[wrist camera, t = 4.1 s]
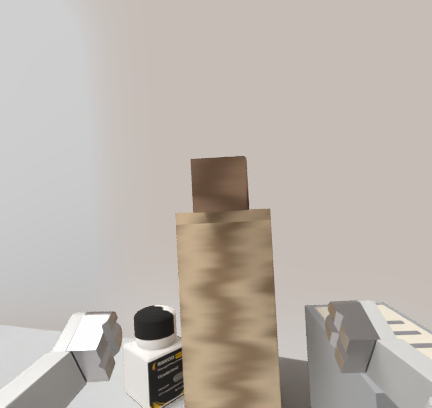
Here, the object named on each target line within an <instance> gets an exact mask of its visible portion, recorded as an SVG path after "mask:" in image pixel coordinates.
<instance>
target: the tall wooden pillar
mask: <svg viewBox="0 0 432 408" xmlns="http://www.w3.org/2000/svg"><path fill="white" fill-rule="evenodd" d="M176 234H177V255H178V275H179V296H180V318H181V338H182V359H183V380H184V401H185V408H281V394H280V376H279V358H278V342H277V323H276V305H275V287H274V271H273V251H272V233H271V217H270V209H252V210H241V211H222V212H202V213H177V214H176Z"/></svg>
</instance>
